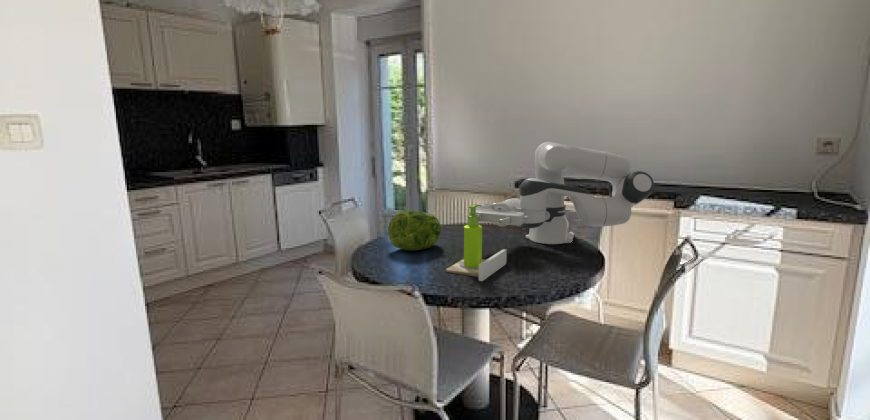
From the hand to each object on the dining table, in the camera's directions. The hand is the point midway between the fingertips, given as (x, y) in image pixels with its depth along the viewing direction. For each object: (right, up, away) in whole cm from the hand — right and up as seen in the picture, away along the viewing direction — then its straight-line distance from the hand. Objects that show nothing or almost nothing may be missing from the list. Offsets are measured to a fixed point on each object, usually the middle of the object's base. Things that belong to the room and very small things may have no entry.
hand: (488, 220), depth 164 cm
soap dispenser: (-6, -14, -8) cm, 17 cm away
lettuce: (-25, -11, +16) cm, 32 cm away
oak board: (-6, -15, -8) cm, 18 cm away
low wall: (0, -16, -12) cm, 20 cm away
